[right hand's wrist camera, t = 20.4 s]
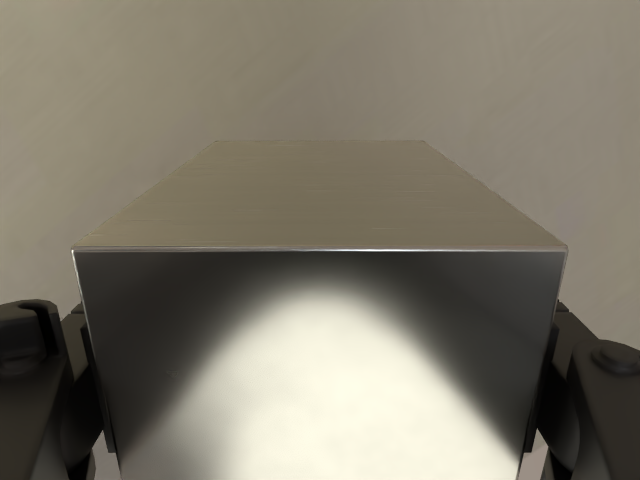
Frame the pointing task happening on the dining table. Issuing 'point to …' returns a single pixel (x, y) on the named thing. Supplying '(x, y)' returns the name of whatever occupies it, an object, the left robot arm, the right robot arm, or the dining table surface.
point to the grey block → (319, 317)
